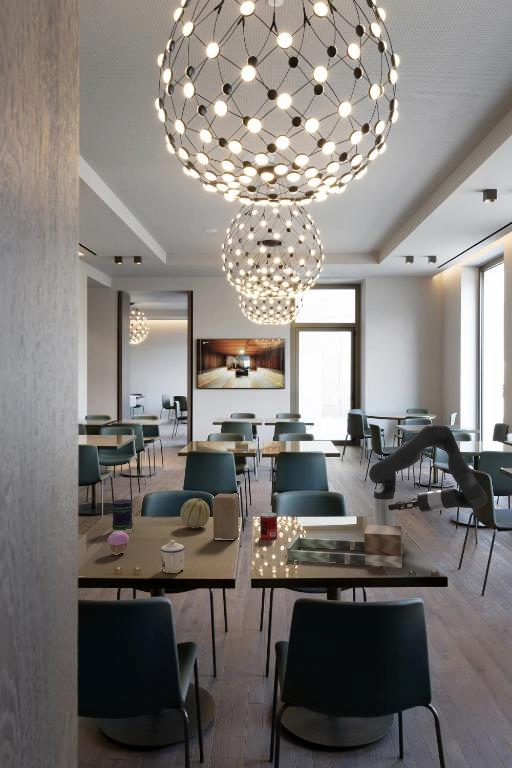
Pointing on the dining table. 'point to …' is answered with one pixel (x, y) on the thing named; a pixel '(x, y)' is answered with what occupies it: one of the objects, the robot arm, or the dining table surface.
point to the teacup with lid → (172, 556)
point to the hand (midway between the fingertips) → (392, 506)
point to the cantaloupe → (195, 513)
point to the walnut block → (383, 540)
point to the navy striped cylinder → (122, 514)
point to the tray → (338, 557)
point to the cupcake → (118, 541)
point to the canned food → (268, 526)
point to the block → (225, 516)
